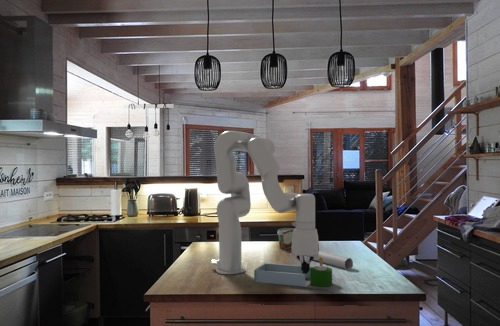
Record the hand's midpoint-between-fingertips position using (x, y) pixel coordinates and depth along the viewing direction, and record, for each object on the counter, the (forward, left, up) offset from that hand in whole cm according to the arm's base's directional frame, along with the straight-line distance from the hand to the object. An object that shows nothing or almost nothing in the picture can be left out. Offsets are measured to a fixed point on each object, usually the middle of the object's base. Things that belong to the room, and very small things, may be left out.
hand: (305, 272), depth 161 cm
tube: (+4, +32, -4) cm, 32 cm away
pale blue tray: (-9, 0, -4) cm, 10 cm away
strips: (+6, 0, -4) cm, 7 cm away
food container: (-25, +60, -4) cm, 65 cm away
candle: (+6, 0, -4) cm, 7 cm away
